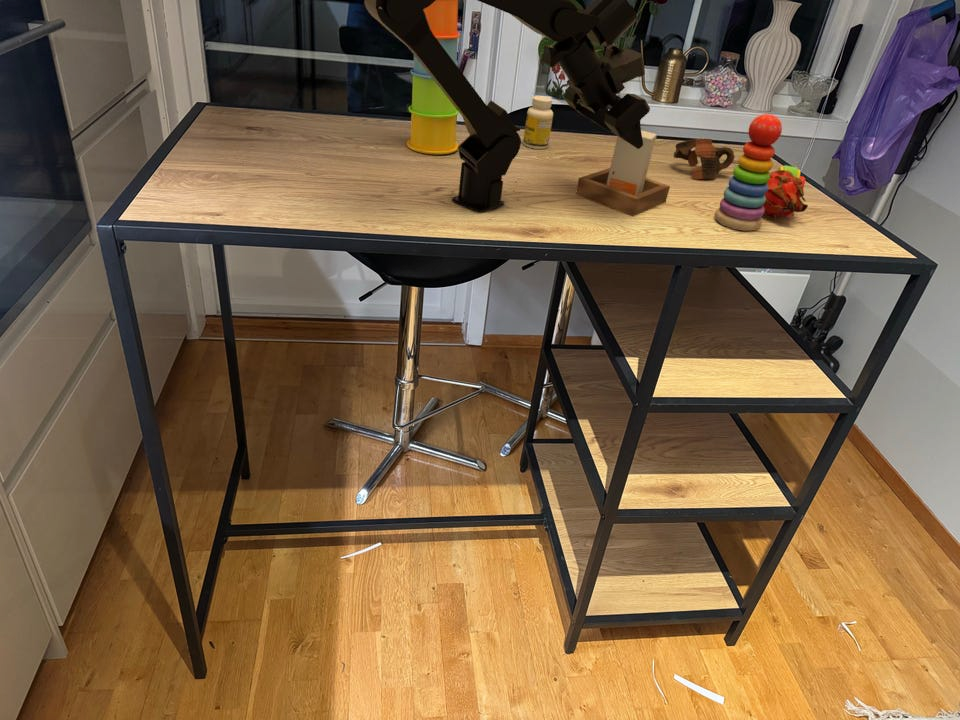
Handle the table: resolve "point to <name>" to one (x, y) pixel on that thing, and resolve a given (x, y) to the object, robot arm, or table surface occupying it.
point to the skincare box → (631, 164)
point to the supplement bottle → (538, 123)
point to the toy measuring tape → (794, 173)
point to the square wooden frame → (621, 193)
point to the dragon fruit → (783, 195)
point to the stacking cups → (435, 89)
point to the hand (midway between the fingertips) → (626, 138)
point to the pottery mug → (704, 157)
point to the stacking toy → (750, 177)
